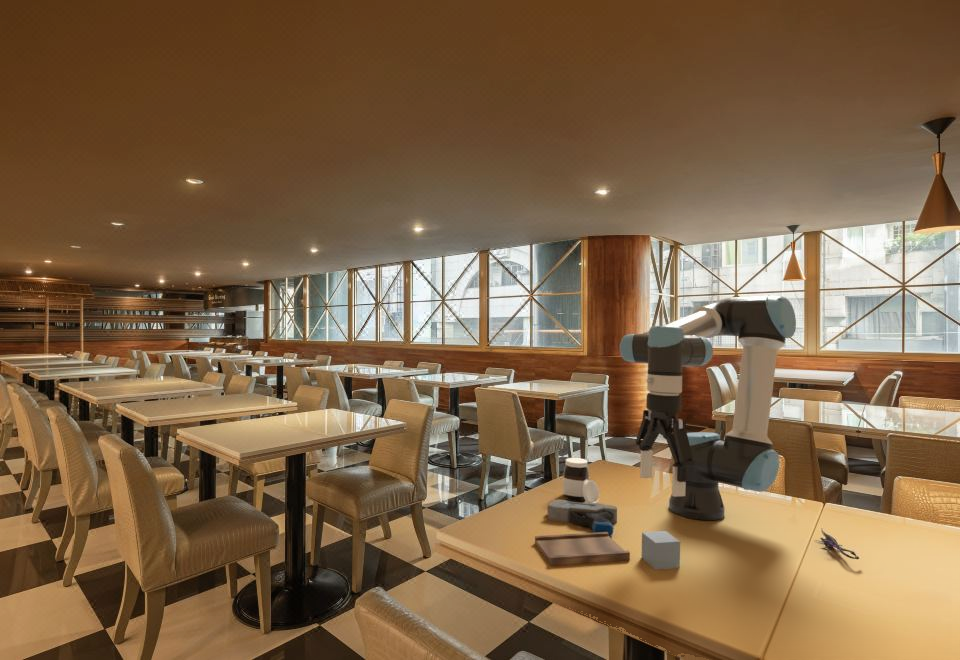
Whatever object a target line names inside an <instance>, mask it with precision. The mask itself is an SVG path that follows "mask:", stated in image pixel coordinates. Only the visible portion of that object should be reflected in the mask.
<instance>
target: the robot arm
mask: <svg viewBox="0 0 960 660" xmlns="http://www.w3.org/2000/svg"><path fill="white" fill-rule="evenodd" d="M796 328H797V320H796V313H795V310H794V307H793V304H792V303H791V301H790V300H789V299H788V298H786V297H784V296H780V295H779V296H778V295H765V296H764V295H762V296H738V297H737V296H735V297H734V296H732V297H727V298H722V299H720V300H716V301H712V302H710V303H707V304H705V305H702V306H700V307H698V308H696V309H695V310H694V311H693V312H692V313H691V314H689V315H687V316H684V317H681V318H679V319H676V320H674V321H671V322H668V323H666V324H664V325H653V326H651V327H650V328H649V330H648V331H646V332H644V333H643V332H642V333H629V334H625V335H624V336H623V337H622V338H621V340H620V342H619V354H620V356H621V357H622V359H623V360H624V361H625V362H629V363H630V362H631V363H635V364H646V365H647V379H646V383H647V384H646V385H647V386H646V387H647V388H646V390H647V391H648V393H647V394H646V403H645V405H646V409H644V410H643V411H642V419H641V423H640V426H639V430H638V433H637V436H636V438H635V445H636V446H638V448H639V450H640V467H639V470H640V471H639V478H641V479H652V478H653V458H654V457H653V456H654V455H653V452H654V451H653V445H654V443H656V440H657V438H658V437H659V435H661V436H662V437H663V439H665V440H666V442H667V445H668V448H669V451H670V453H671V457H672V459H673V461H674V463H673V464H672V475H671V476H672V480H671V484H672V485H671V494H670V497H669V501H668V509H669V510H670V511H671V512H672V513H675V514H676V515H678V516H681V517H685V518H688V519H692V518H693V519H694V520H698V519H700V520H701V521H717V519H718V520H721V519H723V518H725V512H726V511H725V505H724V502H723V498H722V495H721V493H720V490H719V489H720V488H719V483H721V484H725V485H729V486H733V487H737V488H740V489H743V490H746V491H753V492H756V493H757V492H758V493H759V492H760V493H762V492H765V491H767V490H768V489H770V488H771V487H772V486H773V484H774V483H775V481H776V479H777V477H778V473H779V470H780V463H781V461H780V456H779V453H778V452H777V451H775V449H773V442H772V441H771V439H770V438H769V437H768V430H769V421H770V414H771V405H772V399H773V391H774V390H773V389H774V382H775V381H774V380H775V373H776V365H777V359H778V356H777V355H778V351H779V350H780V349H782V348H783V347H784V346H785V343H786V339H790V338H792V337H793V336H794V335H795V333H796ZM718 336H719V337H720V336H724V337H725V336H728V337H738V339H737V341H738V342H739V343H740V345H741V346H742V352H741V360H740V366H739V367H740V368H739V376H738V381H737V382H738V383H737V391H736V398H735V407H734V413H733V419H732V420H733V422H732V428H731V430H730V431H728V432H727V433H725V435H724V436H725V437H724V440H721V436H720V434H719V433H716V432H704V431H703V432H701V431H698V432H697V431H696V432H687V422H686V419H685V418H677V413H680V412H681V410H682V396H681V395H680V394H681V393H682V392H683V368H684V367H687V368H689V367H692V368H693V367H694V368H698V367H702V366H705V365H707V364H709V362H710V361H711V360H712V358H713V355H714V348H713V345H712V343H711V341H710V339H711V338H715V337H718ZM700 520H699V521H700Z"/></svg>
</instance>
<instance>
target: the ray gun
mask: <svg viewBox="0 0 960 660" xmlns="http://www.w3.org/2000/svg"><path fill="white" fill-rule="evenodd" d="M547 520H549V521H553V522H562V523H573V525H575V526H583V527H589V528H590V529H592V533H597V532H608V533H609V537H611V536H612V535H613V534H614V525H613V524H617V523H618V507H617V506H616V505H611V504H610V505H609V504H605V503H598V502H597V503H587V502H585V503H584V502H579V501H577V502H576V501H569V500H566V499H559V498H558V499H553V500H552V501H551V502H550V503H549V504H547Z"/></svg>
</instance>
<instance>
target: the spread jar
mask: <svg viewBox="0 0 960 660" xmlns="http://www.w3.org/2000/svg"><path fill="white" fill-rule="evenodd" d="M589 472H590V471H589V467H588V460H587V459H585V458H580V457H568V458H565V467H564V469H563V475H562V477H563V484H562V494H563V498H565V499H567V500H568V501H573V502H576V501H577V502H579V501H580V502H582V501H585V503H598V502H599V500H600V489H599V486H598V485H597V483H596V482H595V480H589V479H590V478H589V477H590V473H589Z"/></svg>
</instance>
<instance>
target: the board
mask: <svg viewBox="0 0 960 660" xmlns="http://www.w3.org/2000/svg"><path fill="white" fill-rule="evenodd" d="M534 544H535V546H536V547H537V548H539V549H538V551H540V553H541V552H542V553H541V554H542V556H543V555H544V556H543V557H544V559H545V560H546V559H547V560H546V561H547V563H548V564H549V566H551V567H554V566H568V565H581V564H582V565H583V564H585V565H587V564H597V563H612V562H625V561H630V560H631V559H630V558H631V552H630V551H629V550H625V549H624V548H622V546H621V545H619V544H618V543H617V542H616V541H615V540H614V539H613V538H612V537H611V536H609V533H608V532H597V533H593V532H584V533H583V532H581V533H567V534H552V535H551V534H549V535H535V536H534Z"/></svg>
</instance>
